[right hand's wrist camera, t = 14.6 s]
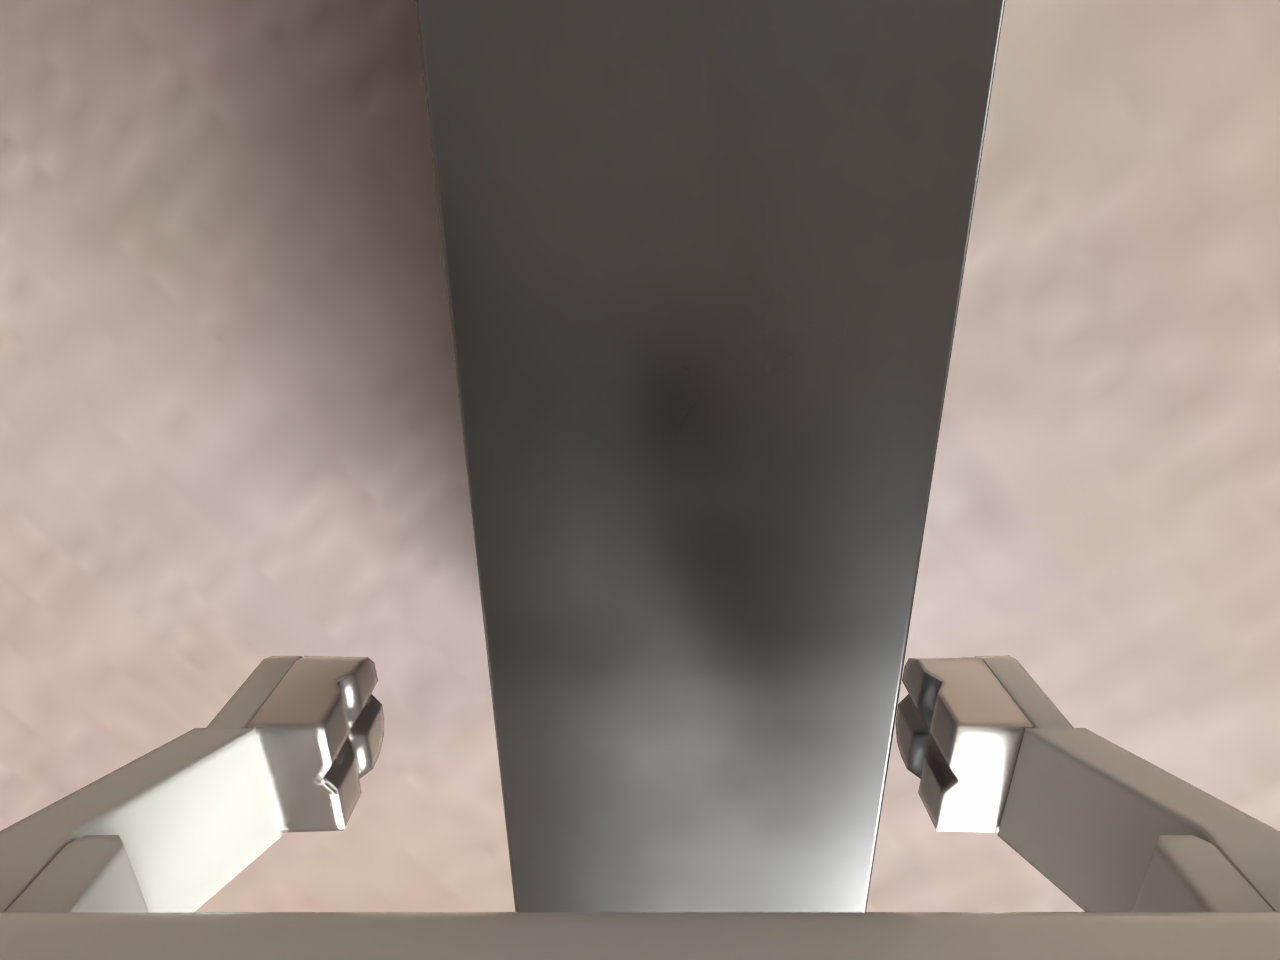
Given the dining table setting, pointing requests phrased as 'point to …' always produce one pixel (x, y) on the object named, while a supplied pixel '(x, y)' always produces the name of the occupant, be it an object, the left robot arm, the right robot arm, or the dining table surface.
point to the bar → (701, 417)
